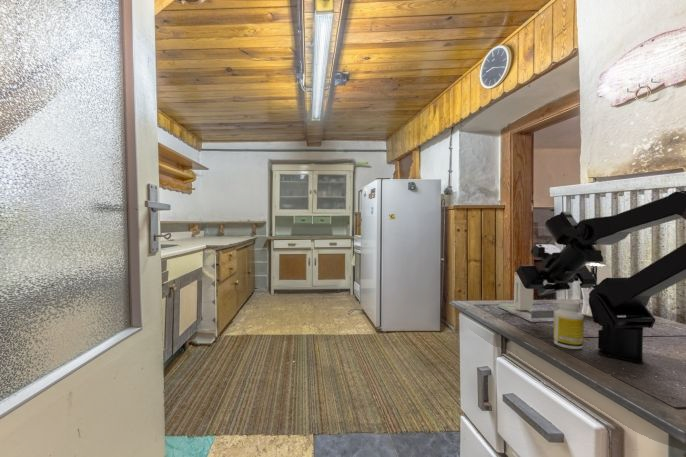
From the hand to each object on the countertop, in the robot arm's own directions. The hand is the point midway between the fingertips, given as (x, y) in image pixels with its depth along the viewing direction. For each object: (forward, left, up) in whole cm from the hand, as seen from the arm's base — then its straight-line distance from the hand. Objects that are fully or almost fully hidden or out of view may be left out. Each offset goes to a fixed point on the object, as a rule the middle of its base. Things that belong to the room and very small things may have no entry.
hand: (538, 293), depth 91 cm
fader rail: (+4, -4, -7) cm, 9 cm away
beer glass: (-11, -17, -7) cm, 21 cm away
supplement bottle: (-9, +17, -7) cm, 21 cm away
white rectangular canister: (+5, -4, -6) cm, 9 cm away
